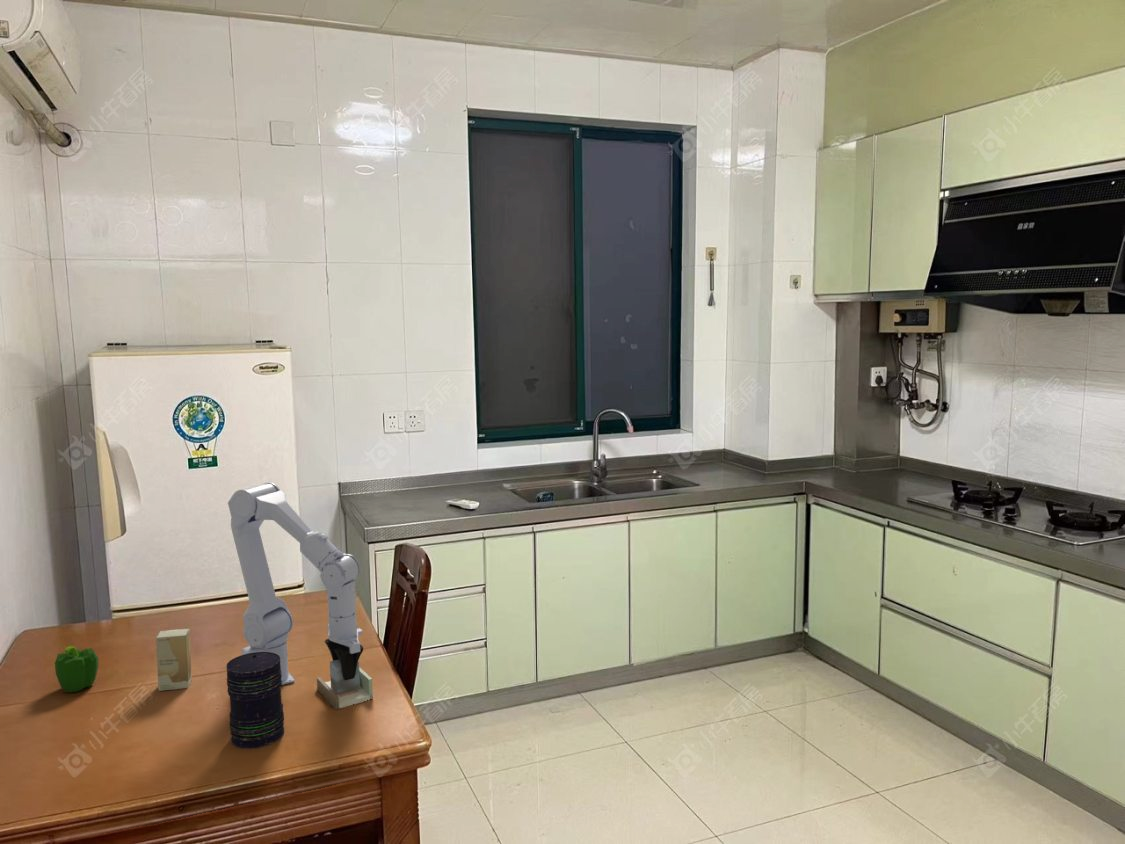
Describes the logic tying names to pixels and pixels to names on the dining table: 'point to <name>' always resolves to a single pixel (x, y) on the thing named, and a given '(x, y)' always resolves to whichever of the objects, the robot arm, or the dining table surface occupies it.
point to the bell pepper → (76, 668)
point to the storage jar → (255, 699)
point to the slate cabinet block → (338, 681)
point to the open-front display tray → (349, 697)
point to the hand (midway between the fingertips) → (345, 674)
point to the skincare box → (173, 659)
